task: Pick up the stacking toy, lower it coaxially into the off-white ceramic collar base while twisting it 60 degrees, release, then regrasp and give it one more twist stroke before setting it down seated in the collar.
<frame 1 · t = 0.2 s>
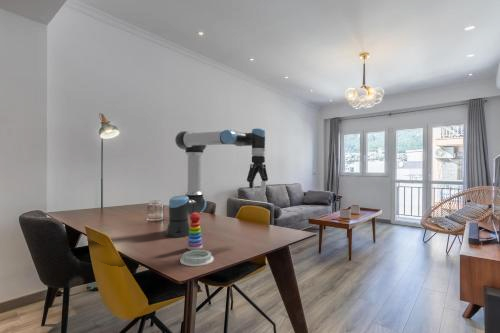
hand: (257, 192, 151), 28 cm above the table, fingers open, 13 cm apart
stacking toy: (195, 248, 137), on the table
collar base: (197, 259, 121), on the table
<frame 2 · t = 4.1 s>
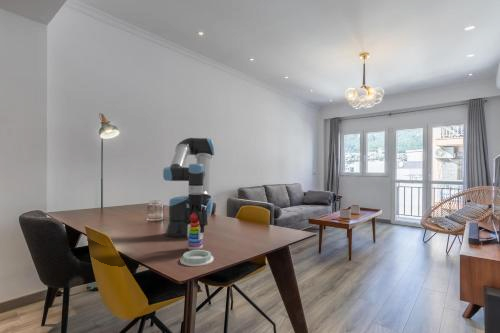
hand: (195, 237, 137), 6 cm above the table, fingers closed on stacking toy, 7 cm apart
stacking toy: (195, 248, 137), on the table, touching gripper
when the fingers open (7 cm above the table, at t = 9.2 s): stacking toy stays where it is, resting on collar base.
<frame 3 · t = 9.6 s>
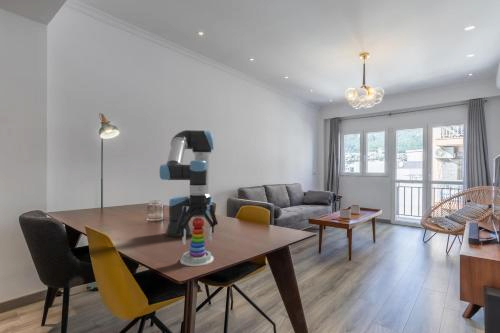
hand: (197, 242, 121), 8 cm above the table, fingers open, 11 cm apart
stacking toy: (197, 259, 121), resting on collar base
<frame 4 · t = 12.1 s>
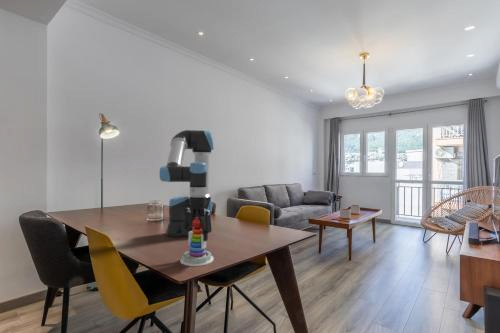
hand: (197, 246, 121), 6 cm above the table, fingers closed on stacking toy, 7 cm apart
stacking toy: (197, 259, 121), resting on collar base, touching gripper
when the fingers open (6 cm above the table, at t = 13.8 s): stacking toy stays where it is, resting on collar base.
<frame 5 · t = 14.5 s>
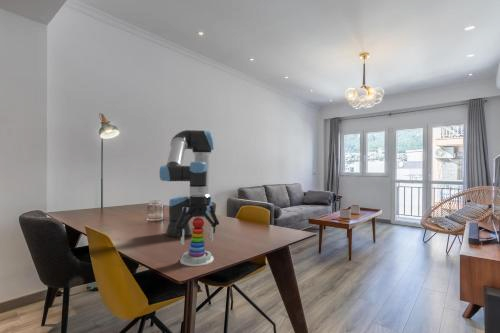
hand: (197, 242, 121), 8 cm above the table, fingers open, 13 cm apart
stacking toy: (196, 258, 121), resting on collar base
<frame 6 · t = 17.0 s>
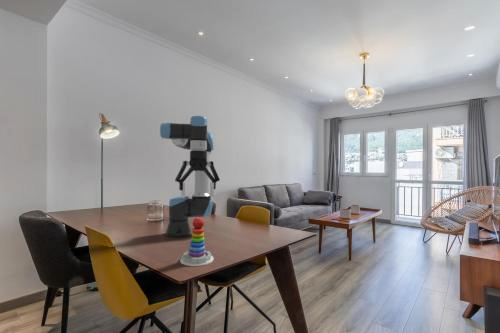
hand: (197, 197, 120), 29 cm above the table, fingers open, 13 cm apart
nothing on the table moved.
at the end: stacking toy 0.2 cm from the collar base (horizontally); stacking toy resting on collar base; stacking toy tilted 0° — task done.
